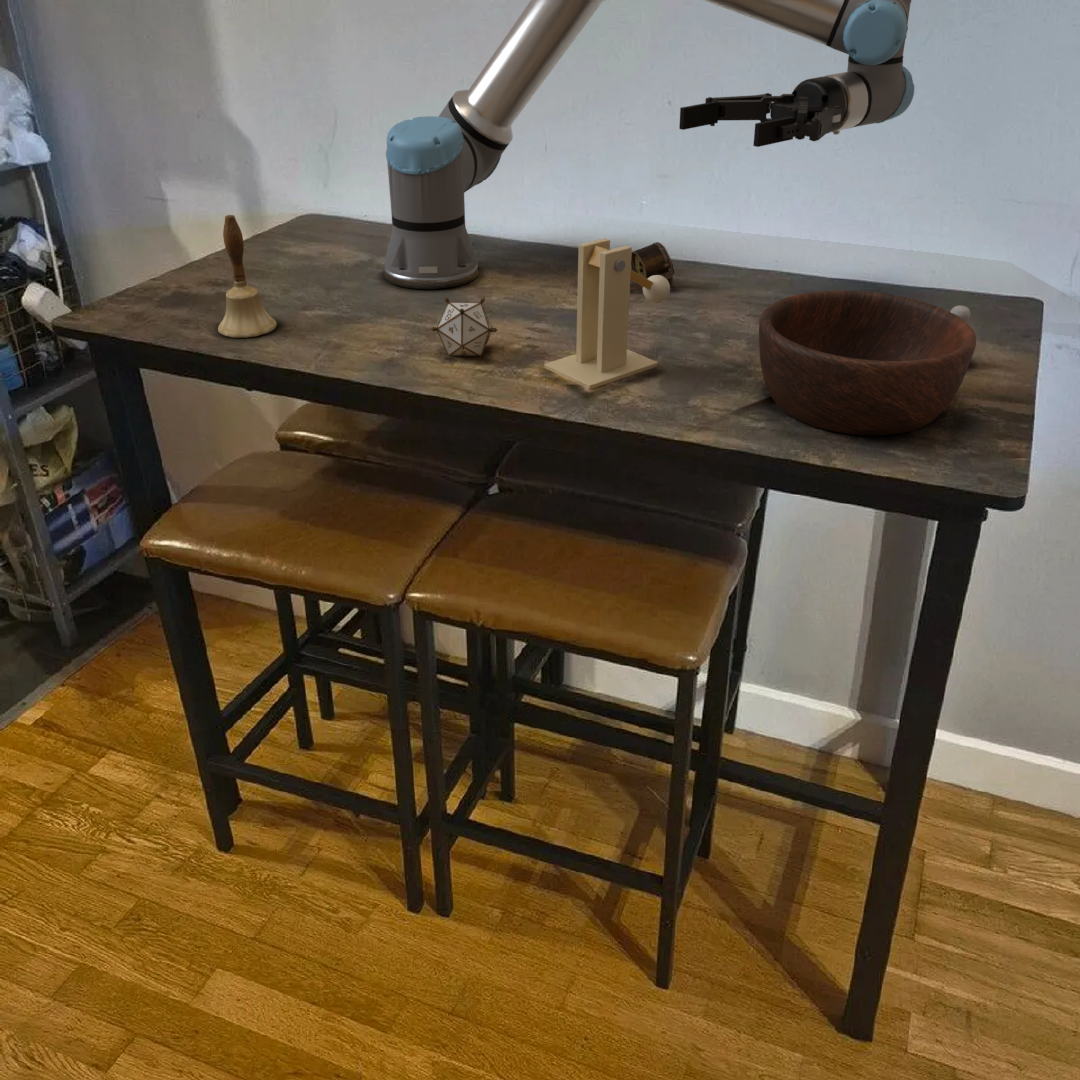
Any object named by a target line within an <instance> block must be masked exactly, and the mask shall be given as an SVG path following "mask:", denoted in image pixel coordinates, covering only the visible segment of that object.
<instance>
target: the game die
mask: <svg viewBox="0 0 1080 1080" xmlns="http://www.w3.org/2000/svg"><path fill="white" fill-rule="evenodd" d="M444 301H445V303H446V306H445V308H444V311H443V313H442V315H441V317H440V319H439V322H438V324H437V326H433V327H431V328H430V330H431V331H432V332H437V335H438V336H439V339H440V341H441V343H442V346H443V348H444V350H445V352H446V355H447V356H450V357H451V356H455V357H456V356H457V357H458V356H460V357H461V356H462V357H465V356H466V357H481V356H483V354H484V352H485V349H486V347H487V344H488V342H489V339H490V338H491V335H492V333H496V332H498V329H497V328H496V327H492V324H491V322H490V320H489V318H488V315H487V312H486V310H485V307H484V305H483V304H484V303H485V301H486V299H485V297H482V298H481V299H480V301H479V302H473V301H472V302H470V301H469V302H465V301H464V302H463V301H459V302H458V301H450V298H449V297H446V296H444Z"/></svg>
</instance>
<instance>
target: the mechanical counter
mask: <svg viewBox="0 0 1080 1080" xmlns="http://www.w3.org/2000/svg"><path fill="white" fill-rule="evenodd" d="M631 270H632V271H634V272H636V273H638V274H639V275H641V276H643V277H645V278H646V279H648V278H649V277H651V276H653V275H660V276H663V277H665V278H666V279H667V280H668V282H669V284H670V288H671V287H673V288H674V286H675V284H674V274H675V270H674V265H673V262H672V259H671V257H670V254H669V253H668V250H667V248H666V247H665V246H664V245H663V244H662V243H661V242H658V241H656V242H654V243H652V244H649V245H646V246H644V247H641V248H638V249H636V250H632V256H631ZM642 290H643V286H641V285H639V284H637V283H636V284H631V285H630V292H637V291H642Z"/></svg>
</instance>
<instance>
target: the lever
mask: <svg viewBox="0 0 1080 1080" xmlns="http://www.w3.org/2000/svg"><path fill="white" fill-rule="evenodd" d="M607 250H608V249H605V248H602V247H599V246H595V249H594V251H593V253H592V256H591V258H590V260H589V263H588V264H590V265H592V266H593V267H595V268H597V269H599V270H600V252H603V251H607ZM630 281H632V282H634V283H635V284H636V285H637V284H639V285H641V286H643V289H642V293H643V296H644V298H645V300H647V301H648V302H650V303H653V304H659V303H662V302H664V301H665V300H667V299H668V297H669V295H670V292H671V286H670V284H669V282H668V280H667V279H666V278H665V277H663V276H660V275H653V276H651V277H649V278H648V279H646V278H645V277H643V276H641V275H639V274H638V273H636V272H634V271H633V269H631V277H630Z"/></svg>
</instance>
